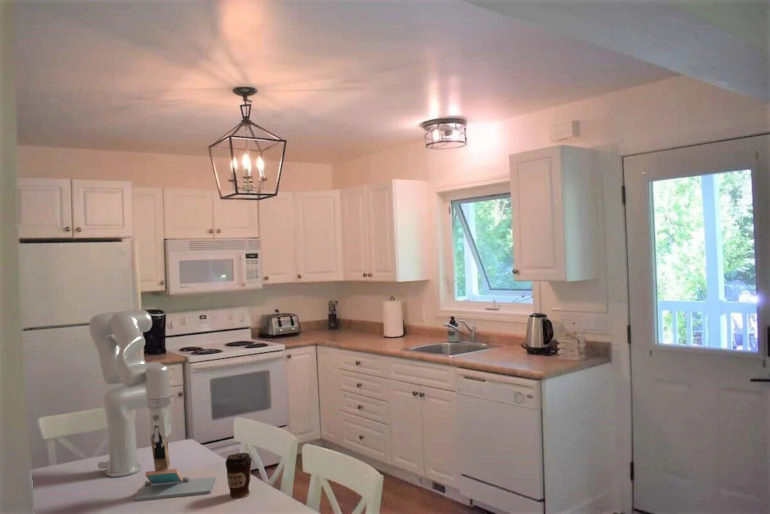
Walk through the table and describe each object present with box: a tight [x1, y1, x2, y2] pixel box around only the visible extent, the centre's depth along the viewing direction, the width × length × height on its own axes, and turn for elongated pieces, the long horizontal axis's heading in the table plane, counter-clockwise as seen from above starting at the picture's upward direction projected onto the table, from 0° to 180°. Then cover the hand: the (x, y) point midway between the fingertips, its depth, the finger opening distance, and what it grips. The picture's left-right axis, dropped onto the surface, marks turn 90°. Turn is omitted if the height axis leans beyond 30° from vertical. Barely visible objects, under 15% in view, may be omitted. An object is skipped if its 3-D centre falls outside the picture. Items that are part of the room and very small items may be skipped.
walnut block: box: [150, 435, 171, 471], centre depth 207 cm, size 4×4×12 cm
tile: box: [145, 468, 183, 484], centre depth 210 cm, size 10×10×1 cm
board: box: [134, 476, 217, 502], centre depth 210 cm, size 24×13×2 cm, turn 98°
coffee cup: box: [225, 452, 253, 499], centre depth 202 cm, size 9×8×13 cm
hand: (161, 456), depth 207 cm, fingers closed on walnut block, 4 cm apart
